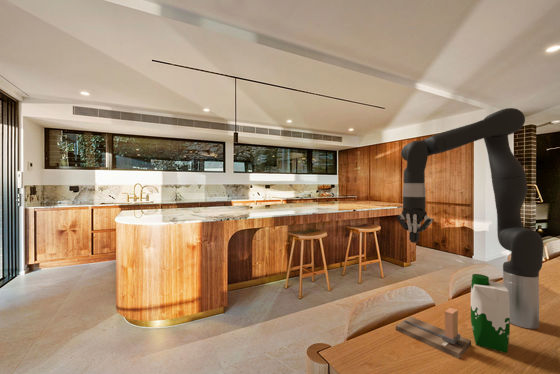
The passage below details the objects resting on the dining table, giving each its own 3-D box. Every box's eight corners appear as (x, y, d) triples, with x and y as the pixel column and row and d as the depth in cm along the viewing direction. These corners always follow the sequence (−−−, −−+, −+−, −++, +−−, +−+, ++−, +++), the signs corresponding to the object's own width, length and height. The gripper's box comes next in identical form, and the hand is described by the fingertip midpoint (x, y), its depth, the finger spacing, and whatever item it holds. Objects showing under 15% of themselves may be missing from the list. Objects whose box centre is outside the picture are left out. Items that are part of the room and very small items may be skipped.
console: (395, 330, 85) (395, 324, 85) (410, 320, 91) (410, 315, 91) (458, 358, 70) (458, 352, 70) (471, 345, 76) (471, 339, 76)
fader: (442, 339, 76) (442, 311, 76) (448, 333, 79) (448, 306, 79) (453, 344, 73) (453, 315, 74) (460, 338, 76) (460, 310, 77)
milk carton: (469, 332, 84) (469, 270, 84) (505, 340, 79) (505, 275, 79) (472, 346, 76) (472, 278, 76) (512, 356, 71) (512, 284, 71)
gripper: (437, 196, 92) (437, 244, 92) (401, 195, 102) (401, 238, 102) (428, 196, 87) (428, 247, 87) (391, 195, 98) (391, 240, 98)
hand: (413, 242), depth 95 cm, fingers closed
